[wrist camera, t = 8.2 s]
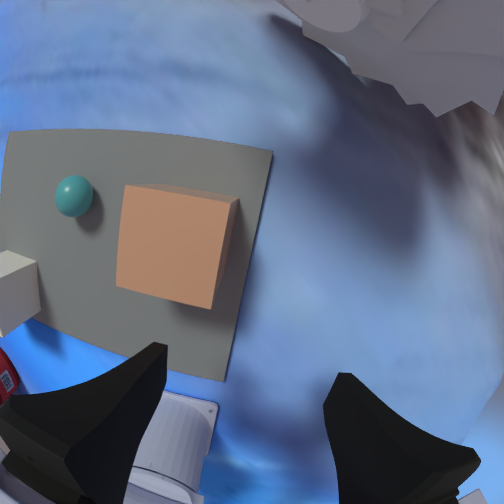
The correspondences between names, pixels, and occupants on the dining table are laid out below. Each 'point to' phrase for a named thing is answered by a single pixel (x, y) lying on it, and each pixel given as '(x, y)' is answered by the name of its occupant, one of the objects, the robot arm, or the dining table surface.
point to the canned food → (7, 377)
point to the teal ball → (74, 196)
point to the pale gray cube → (17, 291)
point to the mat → (107, 235)
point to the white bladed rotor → (416, 46)
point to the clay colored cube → (174, 242)
